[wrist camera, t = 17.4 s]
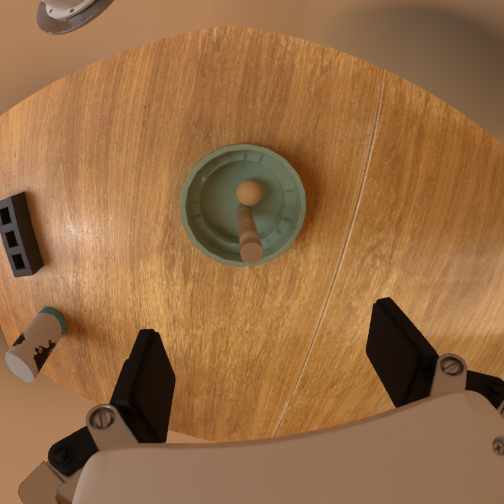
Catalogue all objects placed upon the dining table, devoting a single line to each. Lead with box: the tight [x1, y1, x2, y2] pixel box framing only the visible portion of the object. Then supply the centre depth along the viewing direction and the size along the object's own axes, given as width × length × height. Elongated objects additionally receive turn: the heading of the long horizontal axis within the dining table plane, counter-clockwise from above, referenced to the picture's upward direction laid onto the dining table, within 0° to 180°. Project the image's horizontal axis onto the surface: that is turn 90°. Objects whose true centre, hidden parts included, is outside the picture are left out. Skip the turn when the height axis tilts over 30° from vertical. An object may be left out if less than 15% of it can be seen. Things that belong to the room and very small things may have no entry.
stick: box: [237, 203, 263, 263], centre depth 32 cm, size 2×2×16 cm
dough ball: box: [236, 179, 263, 206], centre depth 37 cm, size 4×4×4 cm
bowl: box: [180, 144, 306, 267], centre depth 37 cm, size 15×15×6 cm
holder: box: [0, 192, 44, 277], centre depth 36 cm, size 14×6×4 cm, turn 5°
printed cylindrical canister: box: [5, 307, 66, 382], centre depth 38 cm, size 7×7×15 cm
